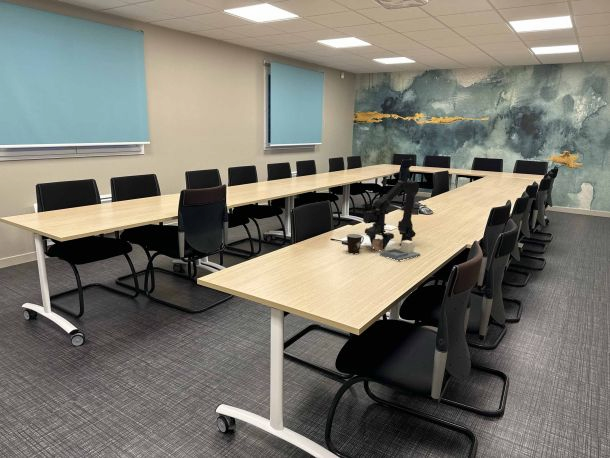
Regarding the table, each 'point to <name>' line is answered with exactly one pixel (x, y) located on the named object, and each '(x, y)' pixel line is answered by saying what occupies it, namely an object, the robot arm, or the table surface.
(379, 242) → the terracotta block
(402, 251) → the socket board
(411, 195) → the robot arm
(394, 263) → the table surface
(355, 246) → the coffee mug
